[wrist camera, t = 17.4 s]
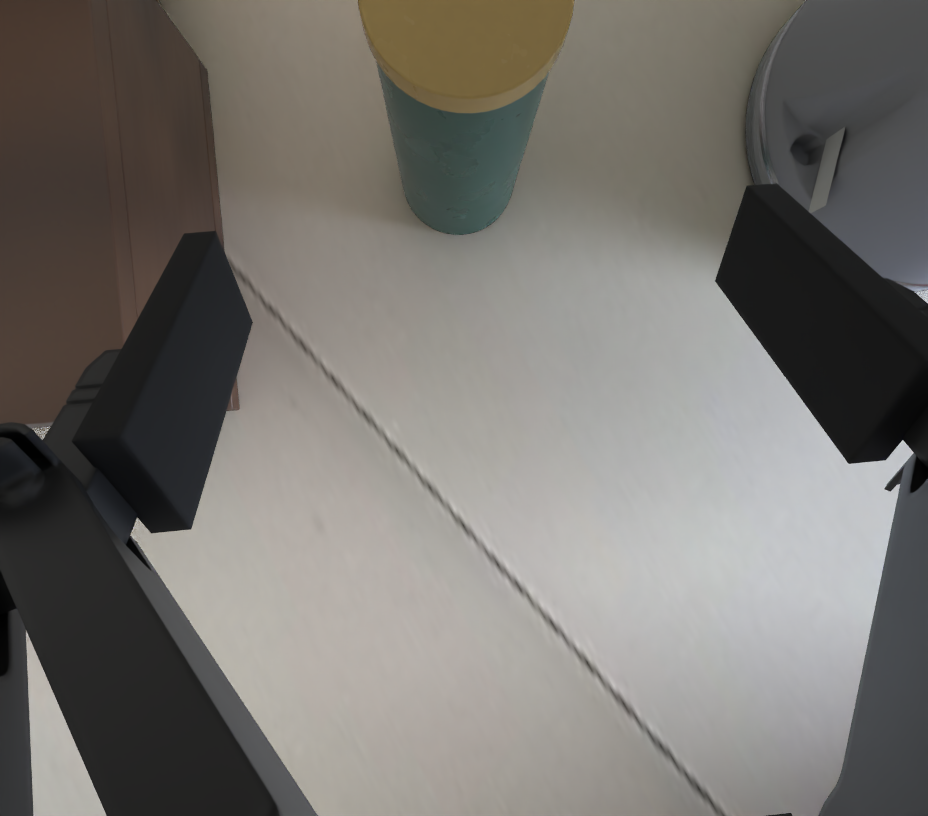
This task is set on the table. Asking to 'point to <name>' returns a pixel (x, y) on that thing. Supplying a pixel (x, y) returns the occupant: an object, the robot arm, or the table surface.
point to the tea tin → (462, 97)
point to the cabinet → (92, 184)
